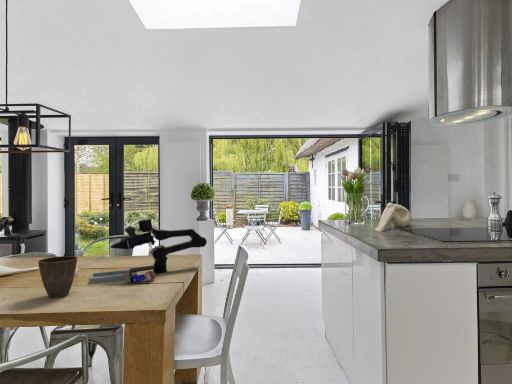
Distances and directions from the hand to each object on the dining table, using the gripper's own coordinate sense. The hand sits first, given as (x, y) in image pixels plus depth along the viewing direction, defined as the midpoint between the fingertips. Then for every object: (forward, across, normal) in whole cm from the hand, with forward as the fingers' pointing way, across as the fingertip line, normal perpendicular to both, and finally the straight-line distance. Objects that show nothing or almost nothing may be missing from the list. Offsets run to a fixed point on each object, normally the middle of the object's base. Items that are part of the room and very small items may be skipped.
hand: (111, 247), depth 176 cm
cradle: (+2, -1, +16) cm, 16 cm away
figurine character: (-7, +14, +20) cm, 26 cm away
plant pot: (+27, +18, +14) cm, 35 cm away
